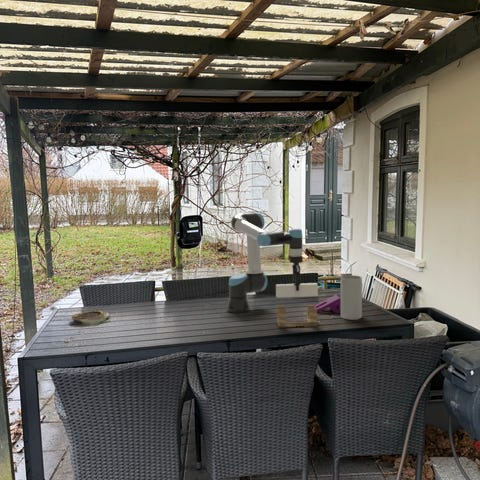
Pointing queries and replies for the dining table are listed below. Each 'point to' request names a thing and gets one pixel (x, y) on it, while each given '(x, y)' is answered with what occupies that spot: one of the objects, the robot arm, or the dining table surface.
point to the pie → (90, 317)
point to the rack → (310, 322)
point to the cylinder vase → (351, 297)
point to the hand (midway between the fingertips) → (296, 295)
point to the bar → (289, 290)
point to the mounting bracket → (330, 304)
